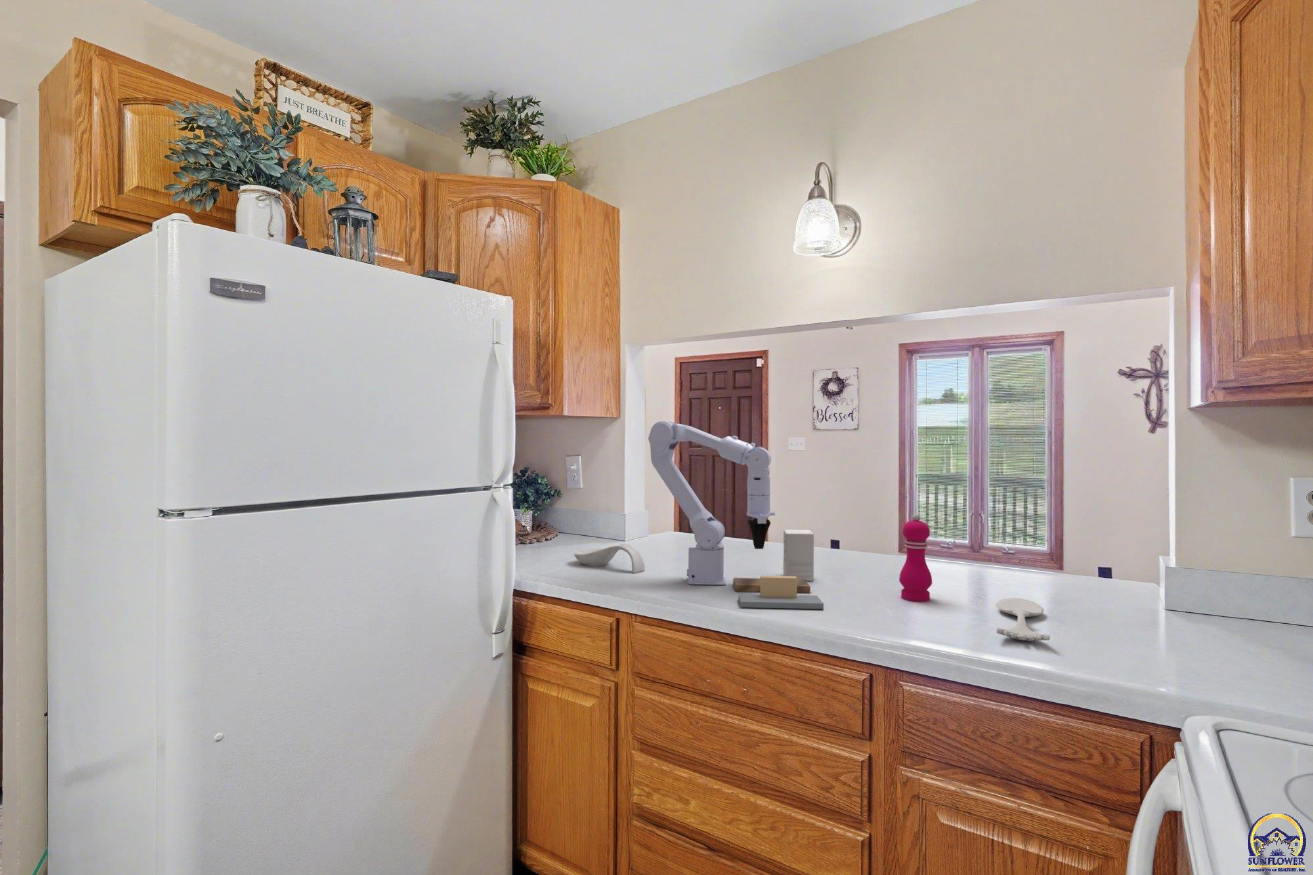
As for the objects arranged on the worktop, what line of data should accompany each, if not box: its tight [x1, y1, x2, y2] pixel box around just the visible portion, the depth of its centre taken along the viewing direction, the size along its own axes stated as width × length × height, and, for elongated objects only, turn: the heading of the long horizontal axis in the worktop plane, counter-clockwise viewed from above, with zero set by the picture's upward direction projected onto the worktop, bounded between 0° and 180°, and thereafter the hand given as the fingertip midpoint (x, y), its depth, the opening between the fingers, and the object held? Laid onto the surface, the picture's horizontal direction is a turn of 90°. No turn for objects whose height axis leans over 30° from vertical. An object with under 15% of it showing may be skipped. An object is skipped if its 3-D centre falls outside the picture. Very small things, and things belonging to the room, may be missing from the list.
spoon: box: [995, 597, 1051, 642], centre depth 132 cm, size 9×32×4 cm, turn 152°
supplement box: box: [782, 529, 815, 582], centre depth 175 cm, size 7×7×13 cm
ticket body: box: [732, 577, 811, 594], centre depth 163 cm, size 18×8×2 cm, turn 87°
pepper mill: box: [898, 513, 933, 602], centre depth 154 cm, size 7×7×20 cm
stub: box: [737, 575, 825, 610], centre depth 147 cm, size 18×7×6 cm, turn 87°
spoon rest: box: [573, 543, 646, 574], centre depth 188 cm, size 24×12×7 cm, turn 51°
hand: (758, 548), depth 166 cm, fingers closed
